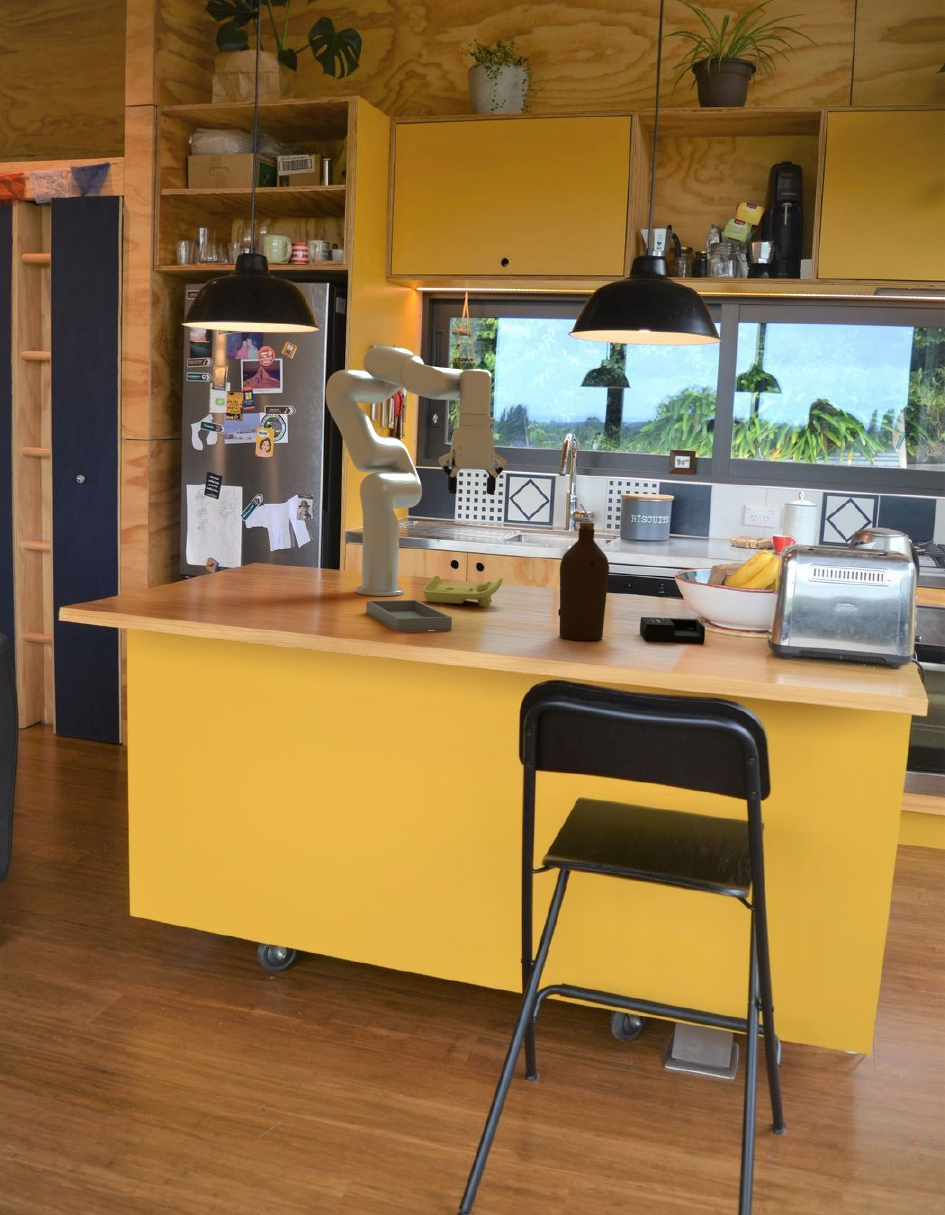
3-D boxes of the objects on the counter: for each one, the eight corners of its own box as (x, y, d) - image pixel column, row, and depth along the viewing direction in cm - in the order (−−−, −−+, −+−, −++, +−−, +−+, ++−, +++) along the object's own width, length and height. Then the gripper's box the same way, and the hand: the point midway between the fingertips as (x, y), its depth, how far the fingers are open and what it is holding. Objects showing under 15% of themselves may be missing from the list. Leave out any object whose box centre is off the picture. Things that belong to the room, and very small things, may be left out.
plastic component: (419, 591, 286) (438, 571, 293) (426, 616, 289) (445, 596, 297) (487, 595, 276) (505, 574, 283) (494, 620, 279) (511, 599, 287)
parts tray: (366, 613, 267) (366, 600, 267) (416, 612, 272) (416, 599, 271) (397, 632, 245) (397, 618, 244) (451, 630, 249) (451, 617, 249)
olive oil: (615, 638, 248) (621, 524, 244) (583, 643, 241) (589, 525, 237) (578, 630, 255) (584, 519, 251) (546, 635, 248) (552, 521, 244)
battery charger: (644, 642, 247) (645, 624, 246) (639, 634, 256) (640, 616, 256) (704, 644, 247) (705, 626, 246) (696, 636, 256) (697, 619, 256)
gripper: (501, 423, 278) (498, 493, 281) (434, 420, 272) (432, 492, 274) (513, 423, 271) (510, 495, 274) (445, 421, 265) (443, 494, 267)
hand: (471, 493), depth 274 cm, fingers open, 9 cm apart
